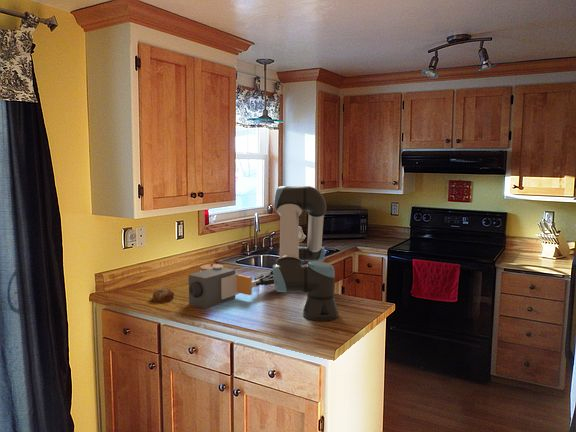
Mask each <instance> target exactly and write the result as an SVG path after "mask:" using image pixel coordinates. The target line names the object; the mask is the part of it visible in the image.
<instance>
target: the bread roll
mask: <svg viewBox="0 0 576 432" xmlns="http://www.w3.org/2000/svg"><path fill="white" fill-rule="evenodd" d="M174 297H175V293H174V291H173V290H172V289H171V288H169V287H168V286H167V287H166V286H159V287H157V288H155V290H154V291H153V292H152V298H151V300H152V301H153V302H154V303H166V301H167V302H170V300H171V301H173V300H174Z"/></svg>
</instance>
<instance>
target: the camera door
mask: <svg viewBox="0 0 576 432" xmlns="http://www.w3.org/2000/svg"><path fill="white" fill-rule="evenodd" d="M252 281H253V280H252V276H248V275H243V274H240V273H235V274H234V275H231V276H227V277H224V278H221V299H225V298H228V297H231V296H234V295H235V296H237V295H239V294H244V295H247V296H251V295H253V294H252V293H253V290H252V289H253V288H252Z"/></svg>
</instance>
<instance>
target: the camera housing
mask: <svg viewBox="0 0 576 432" xmlns="http://www.w3.org/2000/svg"><path fill="white" fill-rule="evenodd" d="M234 274H236V269H232V268H227V267H226V268H225V267H224V268H222V267H219V266H216V267H213V268H212V269H208V270H204V271H201V272H200V271H198V272H194V273H190V274H188V275H187V276H188V305H190V304H191V305H190V306H195V307H197V308H198V307H200V308H202V309H209V308H212V307H214V306H217V305H219V304H223V303H227V302H228V301H230V300H231V301H232V300H234V299H236V295H234V296H231V297H228V298H225V299H221V278H224V277H227V276H231V275H234Z"/></svg>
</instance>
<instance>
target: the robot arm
mask: <svg viewBox="0 0 576 432" xmlns="http://www.w3.org/2000/svg"><path fill="white" fill-rule="evenodd" d="M275 190H276V191H275V195H274V203H273V205H274V207H273V208H274V211H276V212H277V214H278V215H279V217H280V219H279V220H280V221H279V224H280V225H279V258H277V259H276V261H275V264H273V265H272V270H271V271H270V272H269V273H267V274H266V275H264V274H263V273H260V275H257V277H254V280H252V289H254V288H255V287H260V286H263V285H264V286H270V285H273V286H274V289H275V291H276V292H279V293H307V294H306V295H307V297H306V298H307V299H306V300H305V305H304V306H303V311H302V316H303V317H304V318H305V319H307V320H309V321H314V320H315V322H316V321H317V322H327V321H328V320H329V321H332V320H333V319H334V320H336V319H337V318H338V317H339V311H338V307H337V303H336V301H335V278H336V275H335V267H334V265H332V264H330V263H328V262H325V257H326V250H325V249H326V248H325V246H322V245H323V233H324V230H323V229H324V218H325V215H326V214H327V203H326V199H325V198H324V196H323V194H322V193H321V192H320V190H318V189H317V188H315V187H313V186H311V185H310V186H309V185H305V186H304V185H303V186H300V185H299V186H297V185H295V186H293V185H292V186H290V185H289V186H288V185H285V186H284V185H283V186H278V187H277V188H276V189H275ZM304 211H306V214H308V217H307V218H308V219H307V220H308V221H307V225H308V226H307V245H306V246H300V245H299V244H300V243H299V242H300V239H299V238H300V236H299V235H300V230H299V229H300V227H299V226H300V224H299V222H300V221H299V218H300V217H299V216H301V214H302V213H303V212H304ZM303 261H304V262H305V261H306V262H307V263H306V264H303ZM335 318H336V319H335Z"/></svg>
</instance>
